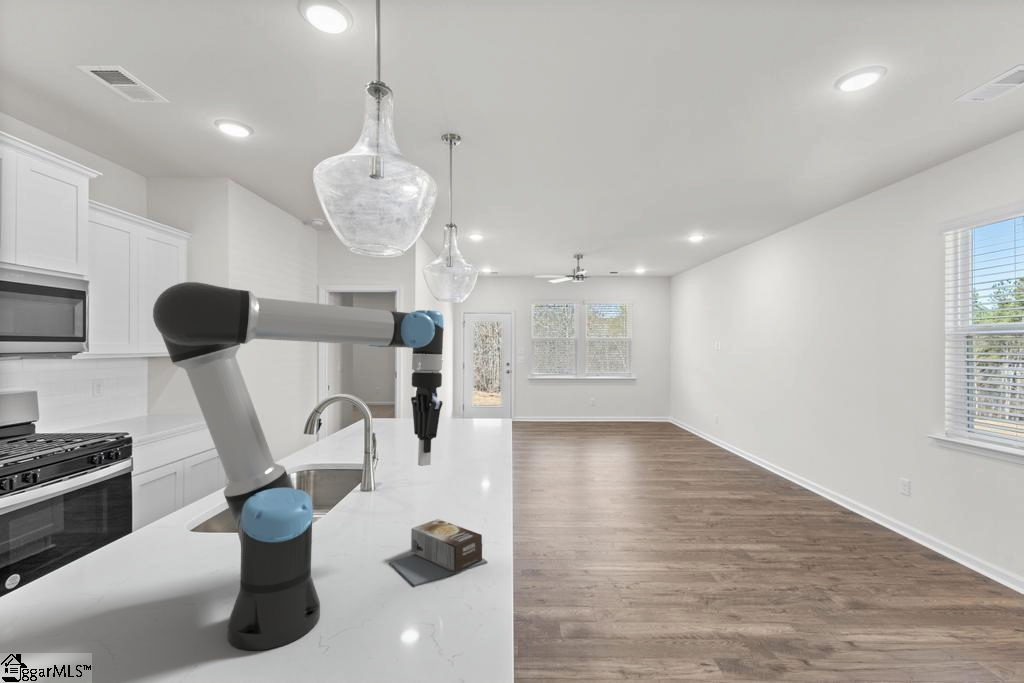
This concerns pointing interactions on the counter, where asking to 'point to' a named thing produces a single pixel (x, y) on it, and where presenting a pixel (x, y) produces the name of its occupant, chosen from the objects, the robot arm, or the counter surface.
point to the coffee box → (446, 545)
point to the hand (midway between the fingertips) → (424, 464)
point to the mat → (423, 569)
